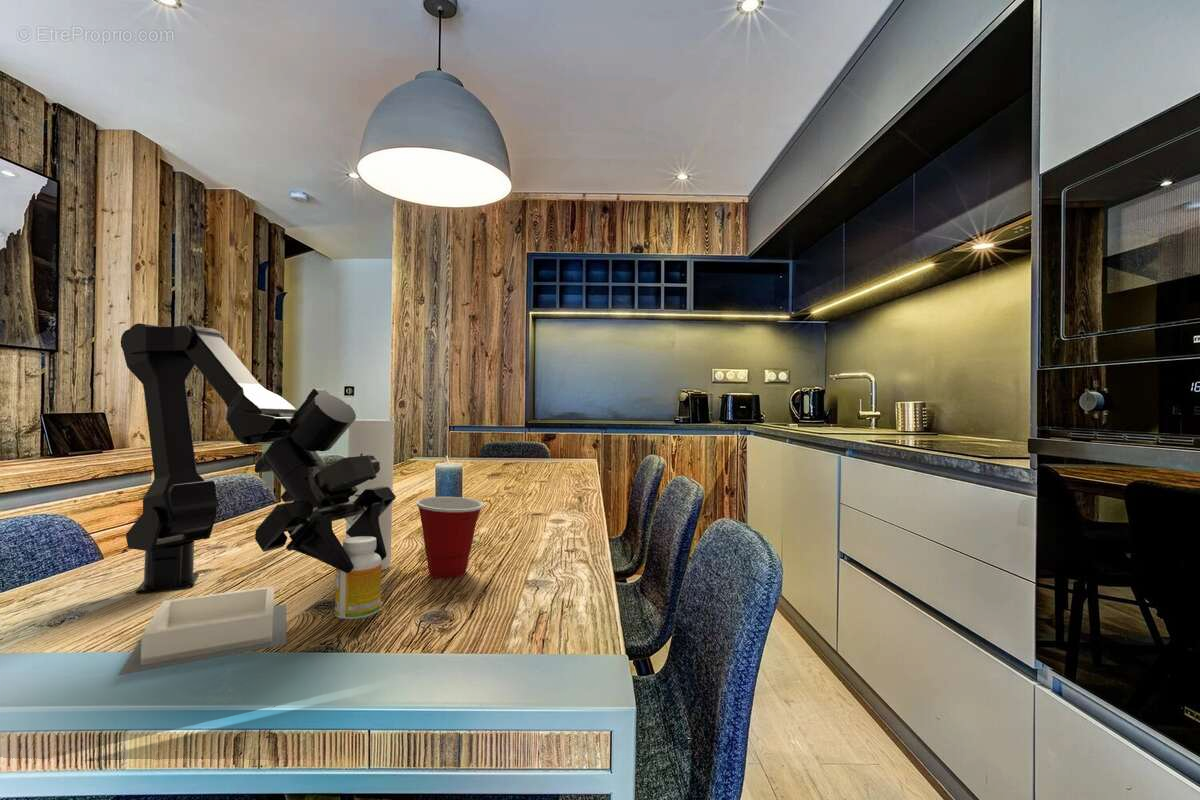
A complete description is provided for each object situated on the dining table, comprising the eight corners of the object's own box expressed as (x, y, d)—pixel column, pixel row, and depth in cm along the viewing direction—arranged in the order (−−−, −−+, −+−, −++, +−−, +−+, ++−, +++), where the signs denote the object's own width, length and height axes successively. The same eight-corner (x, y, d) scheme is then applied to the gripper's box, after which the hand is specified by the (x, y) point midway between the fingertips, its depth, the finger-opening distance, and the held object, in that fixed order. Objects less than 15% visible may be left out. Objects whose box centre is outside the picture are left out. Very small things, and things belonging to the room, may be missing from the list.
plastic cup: (464, 586, 80) (466, 507, 80) (400, 581, 82) (402, 504, 82) (493, 566, 90) (494, 496, 91) (435, 562, 92) (437, 494, 93)
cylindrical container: (379, 574, 85) (383, 420, 86) (336, 573, 85) (340, 419, 86) (397, 561, 92) (401, 420, 93) (357, 561, 93) (361, 419, 93)
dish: (162, 626, 62) (163, 600, 62) (273, 609, 68) (274, 586, 68) (140, 665, 53) (141, 634, 53) (271, 641, 58) (272, 614, 59)
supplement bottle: (389, 610, 70) (391, 536, 70) (358, 625, 65) (360, 545, 65) (357, 604, 71) (359, 533, 72) (324, 619, 66) (327, 541, 67)
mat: (149, 628, 63) (149, 624, 63) (286, 608, 70) (286, 604, 70) (117, 679, 51) (118, 674, 51) (286, 648, 58) (286, 643, 58)
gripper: (276, 436, 61) (350, 539, 57) (386, 432, 79) (448, 511, 75) (224, 499, 63) (292, 603, 60) (343, 482, 81) (401, 561, 77)
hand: (368, 564), depth 68 cm, fingers open, 6 cm apart
